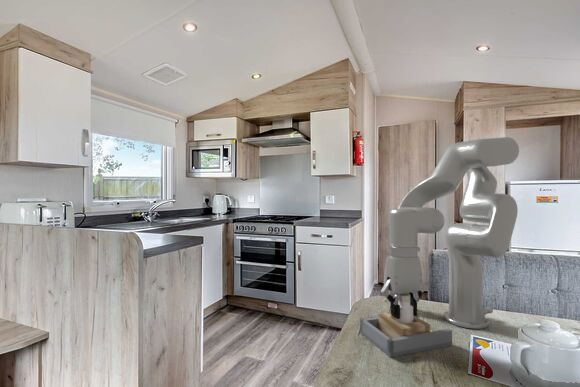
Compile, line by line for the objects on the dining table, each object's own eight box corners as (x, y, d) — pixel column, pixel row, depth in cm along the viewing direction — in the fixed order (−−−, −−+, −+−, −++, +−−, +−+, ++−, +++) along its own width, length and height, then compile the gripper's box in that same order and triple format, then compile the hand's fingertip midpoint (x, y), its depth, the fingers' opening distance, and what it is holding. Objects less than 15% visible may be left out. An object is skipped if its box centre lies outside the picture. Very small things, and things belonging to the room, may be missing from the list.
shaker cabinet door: (403, 324, 92) (403, 310, 92) (430, 341, 82) (430, 324, 82) (378, 328, 89) (378, 313, 89) (402, 346, 79) (402, 329, 79)
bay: (415, 324, 96) (415, 311, 96) (452, 345, 82) (452, 330, 82) (360, 333, 89) (360, 319, 89) (389, 357, 76) (389, 341, 76)
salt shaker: (399, 323, 88) (399, 291, 88) (414, 327, 86) (413, 293, 86) (394, 328, 85) (394, 294, 85) (409, 332, 83) (409, 297, 83)
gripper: (418, 247, 92) (419, 307, 92) (370, 251, 87) (370, 314, 87) (437, 252, 85) (438, 317, 85) (385, 256, 80) (386, 325, 80)
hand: (403, 315), depth 86 cm, fingers closed on salt shaker, 5 cm apart
